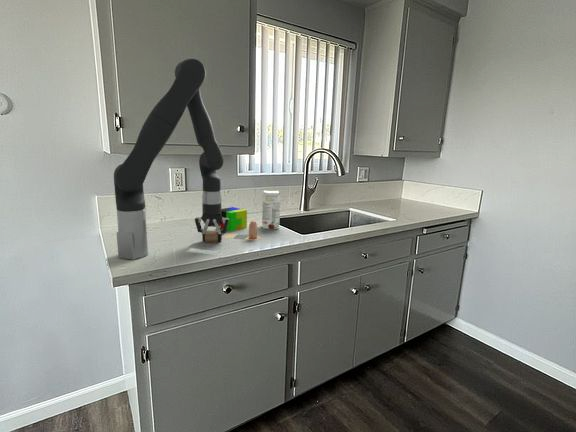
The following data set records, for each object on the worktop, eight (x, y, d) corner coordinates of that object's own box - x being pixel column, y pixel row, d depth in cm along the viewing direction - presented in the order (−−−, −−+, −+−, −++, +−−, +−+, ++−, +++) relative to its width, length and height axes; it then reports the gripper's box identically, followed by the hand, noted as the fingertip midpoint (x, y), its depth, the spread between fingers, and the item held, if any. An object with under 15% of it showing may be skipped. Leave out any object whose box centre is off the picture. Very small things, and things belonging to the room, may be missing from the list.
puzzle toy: (233, 226, 166) (233, 207, 163) (246, 230, 159) (246, 210, 157) (217, 229, 158) (217, 209, 156) (231, 234, 152) (231, 213, 150)
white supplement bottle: (279, 231, 159) (280, 192, 155) (261, 231, 158) (262, 192, 154) (278, 227, 166) (279, 190, 162) (261, 227, 166) (262, 190, 161)
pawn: (255, 239, 140) (256, 222, 138) (247, 238, 141) (247, 221, 139) (258, 237, 143) (258, 220, 141) (250, 236, 144) (250, 219, 142)
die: (217, 245, 133) (217, 233, 132) (205, 245, 133) (204, 233, 132) (219, 242, 138) (219, 230, 137) (207, 241, 138) (207, 230, 137)
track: (256, 243, 138) (256, 240, 138) (208, 238, 143) (208, 235, 142) (261, 239, 145) (261, 236, 145) (215, 234, 149) (215, 231, 149)
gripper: (191, 203, 128) (192, 244, 131) (228, 204, 128) (228, 245, 132) (195, 199, 135) (196, 239, 139) (230, 200, 136) (230, 240, 139)
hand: (212, 242), depth 135 cm, fingers closed on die, 5 cm apart
